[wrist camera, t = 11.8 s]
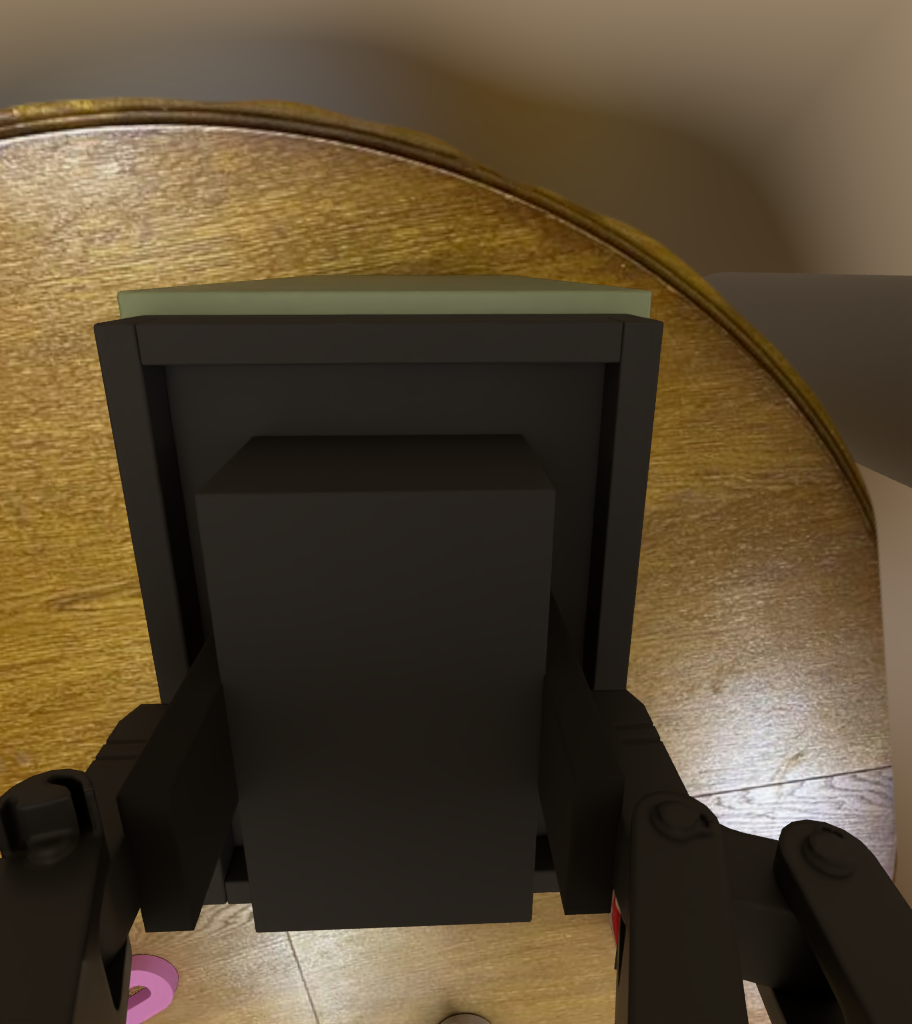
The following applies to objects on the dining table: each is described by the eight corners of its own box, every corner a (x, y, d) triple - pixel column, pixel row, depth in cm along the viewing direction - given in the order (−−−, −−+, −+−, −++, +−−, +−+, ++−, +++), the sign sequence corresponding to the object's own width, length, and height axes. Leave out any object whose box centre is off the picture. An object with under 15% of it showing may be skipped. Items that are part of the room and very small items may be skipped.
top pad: (251, 436, 15) (192, 494, 11) (523, 433, 15) (556, 489, 11) (290, 796, 18) (255, 933, 14) (509, 789, 18) (531, 922, 15)
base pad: (629, 313, 15) (664, 321, 13) (586, 822, 21) (605, 891, 18) (141, 314, 15) (90, 323, 13) (222, 835, 20) (196, 906, 18)
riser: (511, 275, 41) (653, 290, 15) (504, 522, 46) (600, 835, 21) (311, 275, 40) (114, 291, 15) (329, 524, 46) (207, 848, 20)
